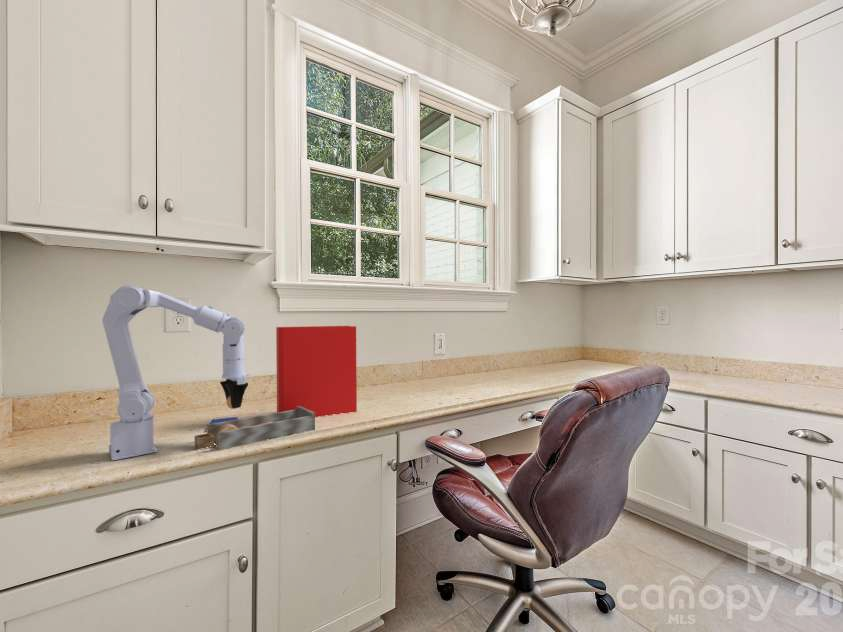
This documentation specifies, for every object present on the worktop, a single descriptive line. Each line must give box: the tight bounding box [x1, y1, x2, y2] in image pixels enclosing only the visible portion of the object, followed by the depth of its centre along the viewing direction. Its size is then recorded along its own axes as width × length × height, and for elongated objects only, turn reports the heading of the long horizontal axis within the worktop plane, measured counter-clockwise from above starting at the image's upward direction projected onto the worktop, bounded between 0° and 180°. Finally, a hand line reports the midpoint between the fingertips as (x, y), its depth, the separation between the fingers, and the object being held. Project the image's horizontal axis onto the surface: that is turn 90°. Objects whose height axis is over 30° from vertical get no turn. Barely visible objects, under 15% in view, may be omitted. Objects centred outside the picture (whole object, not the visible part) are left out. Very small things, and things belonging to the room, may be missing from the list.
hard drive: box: [205, 416, 239, 431], centre depth 129 cm, size 2×8×12 cm
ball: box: [226, 397, 237, 409], centre depth 113 cm, size 4×4×4 cm
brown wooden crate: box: [194, 433, 215, 450], centre depth 108 cm, size 4×4×3 cm
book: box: [275, 325, 358, 418], centre depth 143 cm, size 27×8×32 cm, turn 118°
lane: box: [206, 406, 316, 451], centre depth 119 cm, size 28×12×10 cm, turn 131°
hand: (234, 406), depth 113 cm, fingers closed on ball, 4 cm apart
